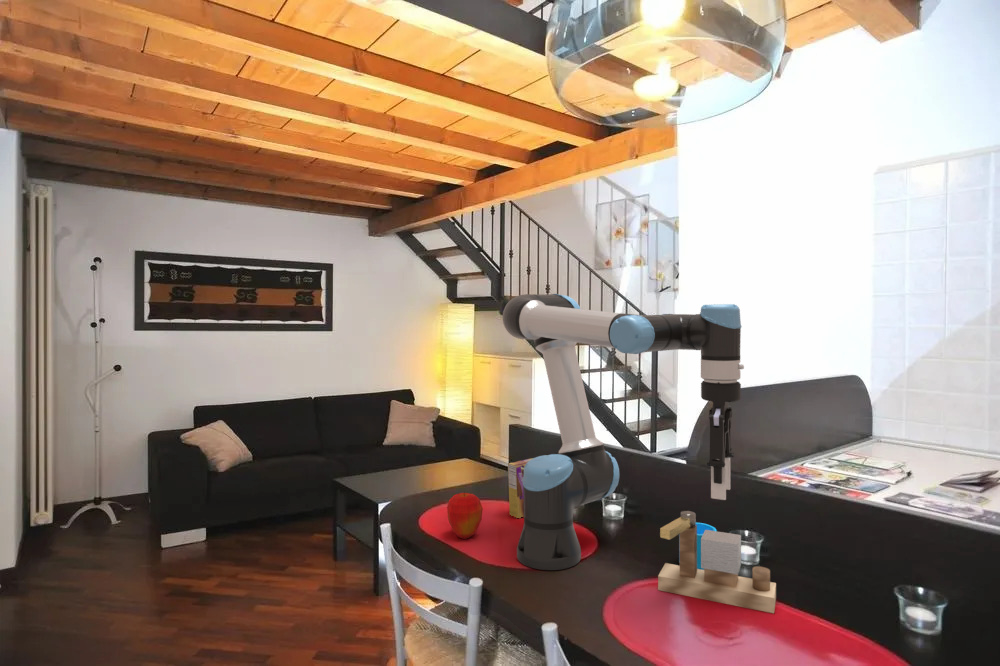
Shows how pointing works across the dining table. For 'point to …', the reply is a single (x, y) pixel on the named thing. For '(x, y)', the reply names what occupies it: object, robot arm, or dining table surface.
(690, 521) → the lever
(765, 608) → the wooden base with post
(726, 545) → the gray rectangular block
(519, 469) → the candy box
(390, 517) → the dining table surface
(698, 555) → the mug
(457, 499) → the apple
